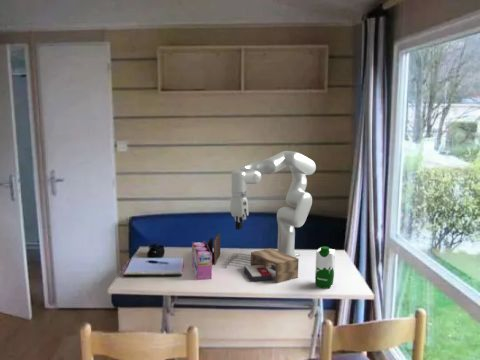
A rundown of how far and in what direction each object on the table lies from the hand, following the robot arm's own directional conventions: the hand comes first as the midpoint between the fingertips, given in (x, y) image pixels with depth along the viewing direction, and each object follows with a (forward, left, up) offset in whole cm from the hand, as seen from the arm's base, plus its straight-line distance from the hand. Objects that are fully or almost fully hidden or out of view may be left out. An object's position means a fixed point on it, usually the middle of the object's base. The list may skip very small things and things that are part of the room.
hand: (239, 228), depth 242 cm
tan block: (-15, +12, -24) cm, 30 cm away
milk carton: (-26, +38, -24) cm, 52 cm away
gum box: (+15, -12, -24) cm, 31 cm away
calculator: (-6, +9, -25) cm, 27 cm away
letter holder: (0, -28, -25) cm, 37 cm away
